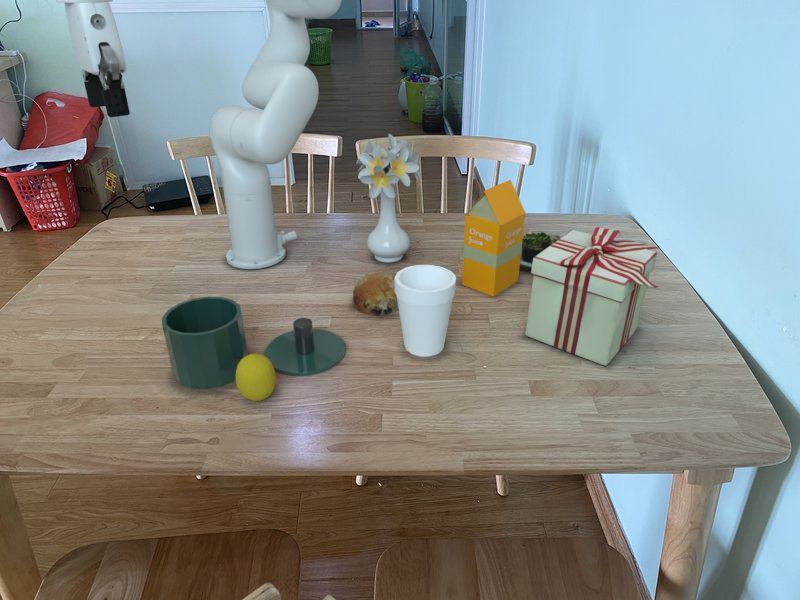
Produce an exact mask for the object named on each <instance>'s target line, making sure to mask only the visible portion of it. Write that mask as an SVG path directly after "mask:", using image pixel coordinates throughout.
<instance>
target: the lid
mask: <svg viewBox="0 0 800 600" xmlns="http://www.w3.org/2000/svg"><path fill="white" fill-rule="evenodd" d="M313 326H314V325H313V321H312V319H310V318H307V317H301V318H297V319H295V320H294V321H293V322H292V328H293V329H292V330H290V331H286V332H284V333H282V334H280V335H278V336H277V337H275V338H274V339H272V340H271V341H270V342H268V344H267V345H266V347H265V350H264V356H265V357H267V358H268V359H269V360H270V361H271V363H272V365H273V367H274V370H275V372H277V373H279V374H283V375H287V376H293V377H304V376H312V375H313V376H314V375H317V374H321V373H324V372H327V371H328V370H331V369H333V368H334V367H335V366H338V364H339V363H340V362H342V360H343V358H344V357H345V354H346V344H345V341H344V340H343V339H342V338H341V336H339V335H337V334H336V333H334V332H332V331H329V330H326V329H322V328H314V327H313Z"/></svg>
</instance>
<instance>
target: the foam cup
mask: <svg viewBox="0 0 800 600" xmlns="http://www.w3.org/2000/svg"><path fill="white" fill-rule="evenodd" d="M394 276H395V278H394V279H395V294H396V296H397V302H398V308H399V310H398V314H399V320H400V326H401V333H402V334H401V335H402V339H403V346H404V348H405V350H406V351H407V352H408V353H409V354H412V355H413V356H417V357H420V358H421V357H422V358H423V357H425V358H426V357H433V356H435V355H438V354H440V353H441V352H442V351H443V350H444V348H445V343H446V336H447V332H448V326H449V321H450V316H451V311H452V305H453V300H454V298H455V295H456V291H457V277H456V275H455V274H454V273H453V270H450V269H448V268H445V267H444V266H439V265H434V264H415V265H411V266H406V267H403V268H402V269H400V270H399V271H397V272H396V274H395V275H394Z"/></svg>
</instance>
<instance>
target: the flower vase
mask: <svg viewBox="0 0 800 600" xmlns="http://www.w3.org/2000/svg"><path fill="white" fill-rule="evenodd" d="M387 136H388V140H389V145H387V149H388V151H387V150H386V149H385V148H384V147H383V148H382V147H381V146H380V144H377V138H375V139H374V141H373V143H372V142H371V141H370V140H368V141H367V142H366V145H365V153H363V152H362V153H360V154H359V155H358V159H357V160H356V163H355V164H356V165H360V167H359V168H358V170H357V172H358V176H357V179H359V181H360V182H361V183H362V184H365V185H371V187H370V189H369V190H368V197H369V199H370V200H371V199H373V200H375V199H376V198H377V197H379V195H380V200H379V201H380V202H379V203H380V204H379V207H380V208H379V218H378V221H377V224H376V226H375V228H374V229H372V230H371V231H370V233H369V234H368V235H367V238H366V248H367V250H368V251H369V252H370V253H371V254H372V255H373V257H374V259H375V260H376V261H378V262H380V263H385V264H386V263H388V264H390V263H391V264H392V263H396V262H399V261H401V260H402V259H403V257H404V254H406V253H407V251H408V250H409V249H410V247H411V239H410V237H409V234H408V233H407V232H406V230H404V229H403V227H401V225H400V223H399V220H398V217H397V211H396V210H397V209H396V183H397V184H398V182H399V181H401V183H402V184H403V185H404V186H405V187H410V186H411V179H410V176H409V175H408V174H413V176H414V178H415V179H416V180H417V181H419V179H421V178H422V175H421V172H420V165H419V164H418V163H419V159H420V155H419V153H418V152H415V142H412V145H411V148H410V151H409V145H410V144H409V141H408V140H407V139H401V140H400V141H399V142H398V143H397V140H396V138H395V137H394V136H393V135H392V134H391V133H388V135H387ZM389 164H390V165H389ZM389 166H390V167H389Z"/></svg>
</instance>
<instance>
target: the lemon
mask: <svg viewBox="0 0 800 600" xmlns="http://www.w3.org/2000/svg"><path fill="white" fill-rule="evenodd" d="M235 384H236V387H237V390H238V392H239V393H240V394H241V396H242V397H244V398H245V399H246V400H249V401H253V402H259V401H263V400H265V399H267V398H268V397H269V396H271V394H272V393H273V392H274V390H275V387H276V384H277V375H276V371H275V370H274V367H273V365H272V363H271V361H270V360H269V359H268V358H267V357H265V354H261V353H250V354H249V353H248V355H247V356H245V357H244V358H243V359H241V361H240V362H239V364H238V366H237V369H236V380H235Z"/></svg>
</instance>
